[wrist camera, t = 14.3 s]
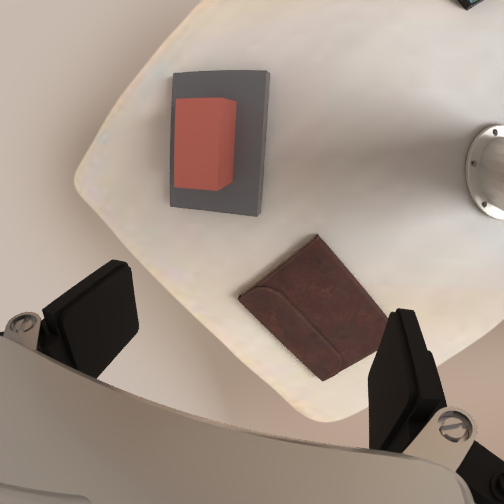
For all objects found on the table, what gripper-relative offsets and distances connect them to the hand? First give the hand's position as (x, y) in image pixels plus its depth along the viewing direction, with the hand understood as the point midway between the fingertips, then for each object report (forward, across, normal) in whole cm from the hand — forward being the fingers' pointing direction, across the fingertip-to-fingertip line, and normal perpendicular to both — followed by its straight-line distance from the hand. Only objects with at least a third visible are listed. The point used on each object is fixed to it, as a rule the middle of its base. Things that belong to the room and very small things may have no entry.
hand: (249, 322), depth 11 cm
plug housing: (+28, +12, -4) cm, 31 cm away
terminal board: (+30, +12, -4) cm, 33 cm away
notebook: (+31, -4, +19) cm, 37 cm away
